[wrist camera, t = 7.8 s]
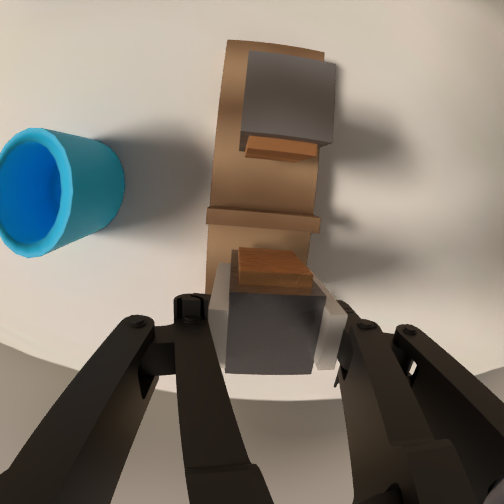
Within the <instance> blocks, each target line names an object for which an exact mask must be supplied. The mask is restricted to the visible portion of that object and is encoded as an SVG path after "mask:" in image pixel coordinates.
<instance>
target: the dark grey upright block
mask: <svg viewBox="0 0 504 504" xmlns="http://www.w3.org/2000/svg"><path fill="white" fill-rule="evenodd" d="M326 298H327V296H326V295H325V293H324V292H323V291H322V290H321V289H320V287H319V286H318V285H317V284H316V283H315V281H314V280H313V274H312V273H311V271H310V270H309V269H308V268H307V267H306V266H305V265H304V264H303V262H302V261H301V260H300V259H299V258H298V257H297V256H296V255H295V253H294V252H293V251H290V250H276V249H262V248H247V247H239V249H238V250H234V249H232V252H231V268H230V286H229V311H228V327H227V344H226V363H225V373H231V374H258V375H301V374H311V372H312V368H313V363H314V355H315V351H316V346H317V341H318V336H319V332H320V327H321V322H322V316H323V311H324V306H325V304H326Z"/></svg>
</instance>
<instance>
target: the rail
mask: <svg viewBox="0 0 504 504" xmlns="http://www.w3.org/2000/svg"><path fill="white" fill-rule="evenodd" d="M335 75H336V64H333V63H329V62H324V52H320V51H315V50H310V49H305V48H299V47H293V46H287V45H280V44H272V43H263V42H254V41H241V40H227V47H226V54H225V61H224V69H223V77H222V84H221V93H220V101H219V110H218V119H217V128H216V138H215V149H214V160H213V171H212V183H211V196H210V206H209V207H208V208H207V215H206V224H209V226H208V243H207V263H206V287H205V294H212V290H213V285H214V281H215V276H216V272H217V267H218V263H231V252H232V249H234V250H238V249H239V247H247V248H262V249H276V250H290V251H293V252H294V253H295V255H296V256H297V257H298V258H299V259H300V260H301V261H302V262H303V264H304V265H305V266H307V258H308V251H309V243H310V236H311V232H312V233H319V229H320V221H321V218H319V217H317V216H315V215H313V211H314V202H315V192H316V182H317V172H318V160H319V148H320V147H322V146H325V145H328V144H330V143H332V139H333V123H334V104H335Z"/></svg>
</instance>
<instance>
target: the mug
mask: <svg viewBox="0 0 504 504" xmlns="http://www.w3.org/2000/svg"><path fill="white" fill-rule="evenodd" d="M124 189H125V181H124V171H123V168H122V166H121V163H120V161H119V158H118V156H117V155H116V154H115V153H114V152H113V151H112V149H111V148H110V147H109V146H107V145H105V144H103V143H101V142H99V141H96V140H92V139H88V138H84V137H80V136H75V135H71V134H67V133H62V132H57V131H53V130H48V129H43V128H28V129H26V130H24V131H22V132H19V133H17V134H16V135H15V136H14V137H13V138H12V139H11V140H10V141H9V142H8V143H7V144H6V145H5V146H4V148H3V149H2V151H1V153H0V237H1V239H2V240H3V242H4V244H5V245H6V246H7V247H9V248H10V249H11V250H12V251H13V252H14V253H16V254H18V255H21V256H24V257H27V258H32V257H39V256H43V255H45V254H47V253H49V252H51V251H53V250H56V249H58V248H60V247H62V246H65V245H67V244H69V243H71V242H74V241H76V240H78V239H81V238H83V237H85V236H88V235H90V234H92V233H95V232H97V231H99V230H100V229H102V228H104V227H106V226H107V225H108V224H109V223H110V222H111V221H112V219H113V218H114V217H115V216H116V214H117V212H118V210H119V208H120V206H121V204H122V201H123V195H124Z"/></svg>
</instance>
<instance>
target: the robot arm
mask: <svg viewBox="0 0 504 504" xmlns="http://www.w3.org/2000/svg"><path fill="white" fill-rule="evenodd" d="M230 268H231V263H218V267H217V272H216V276H215V281H214V285H213V290H212V294H199V293H193V294H182V295H178V296H177V297H175V298H174V324H171V325H167V326H155V325H154V321H153V319H151V318H150V317H147V316H143V315H131V316H129V317H126V318H124V319H123V320H122V321H121V322H120V323H119V324H118V325H117V327H116V328H115V329H114V330H113V331H112V332H111V334H110V335H109V336H108V337H107V338H106V340H105V341H104V342H103V343H102V344H101V346H100V347H99V348H98V349H97V350H96V352H95V353H94V354H93V355H92V357H91V358H90V359H89V360H88V361H87V363H86V364H85V365H84V366H83V368H82V369H81V370H80V371H79V373H78V374H77V375H76V376H75V378H74V379H73V380H72V381H71V383H70V384H69V385H68V387H67V388H66V389H65V390H64V392H63V393H62V394H61V396H60V397H59V398H58V400H57V401H56V402H55V404H54V405H53V406H52V408H51V409H50V410H49V412H48V413H47V414H46V416H45V417H44V418H43V420H42V421H41V423H40V424H39V425H38V427H37V428H36V429H35V431H34V432H33V434H32V435H31V436H30V438H29V439H28V441H27V442H26V444H25V445H24V446H23V448H22V449H21V451H20V452H19V454H18V455H17V457H16V458H15V460H14V461H13V463H12V464H11V466H10V467H9V469H7V470H6V471H5V472H3V473H2V474H0V504H110V503H111V500H112V497H113V494H114V492H115V489H116V486H117V483H118V481H119V478H120V475H121V472H122V470H123V467H124V464H125V462H126V459H127V457H128V454H129V451H130V449H131V446H132V444H133V441H134V439H135V436H136V433H137V431H138V428H139V426H140V423H141V421H142V418H143V416H144V413H145V411H146V408H147V406H148V404H149V401H150V399H151V396H152V394H153V392H154V389H155V387H156V384H157V382H158V380H159V376H160V375H172V374H176V386H177V399H178V413H179V424H180V434H181V443H182V452H183V460H184V467H185V477H186V483H187V490H188V496H189V501H190V504H274V503H273V500H272V498H271V495H270V493H269V490H268V488H267V485H266V483H265V480H264V477H263V475H262V473H261V471H260V469H259V467H258V466H257V465H256V464H252V463H251V462H250V460H249V458H248V455H247V452H246V449H245V446H244V443H243V440H242V437H241V434H240V431H239V428H238V425H237V422H236V419H235V415H234V412H233V409H232V406H231V402H230V399H229V396H228V392H227V389H226V385H225V382H224V378H223V375H222V371H221V368H225V363H226V344H227V327H228V311H229V286H230ZM309 270H310V269H309ZM310 271H311V270H310ZM311 273H312V274H313V280H314V281H315V283H316V284H317V285H318V286H319V287H320V289H321V290H322V291H323V292H324V293H325V295H326V296H327V298H326V304H325V306H324V311H323V316H322V322H321V327H320V332H319V336H318V341H317V346H316V351H315V355H314V362H315V364H316V366H317V369H318V370H332V369H334V368H335V364H336V361H337V359H338V361H339V362H340V367H339V370H338V373H337V377H336V380H335V383H334V387H336V386H337V384H338V383H339V384H340V390H341V396H342V401H343V408H344V415H345V421H346V428H347V435H348V443H349V451H350V459H351V467H352V476H353V487H354V500H353V503H352V504H504V403H503V402H502V401H501V400H500V399H499V398H498V397H497V396H496V395H494V394H493V393H492V392H491V391H490V390H489V389H488V388H487V387H486V386H485V385H484V384H483V383H481V382H480V381H479V380H478V379H477V378H476V377H475V376H474V375H473V374H471V373H470V372H469V371H468V370H467V369H466V368H465V367H464V366H462V365H461V364H460V363H459V362H458V361H457V360H455V359H454V358H453V357H452V356H451V355H450V354H449V353H447V352H446V351H445V350H444V349H443V348H442V347H440V346H439V345H438V344H437V343H436V342H434V341H433V340H432V339H431V338H430V337H428V336H427V335H426V334H425V333H424V332H422V331H421V330H420V329H418V328H417V327H414V326H413V325H409V324H406V325H405V324H402V325H398V326H397V327H396V330H395V334H390V333H383V332H382V330H381V328H380V327H379V325H378V324H376V323H375V322H373V321H370V320H366V319H361V318H360V317H359V316H358V315H357V314H356V313H355V312H354V310H353V309H352V308H351V307H350V306H349V305H348V304H347V303H345V302H343V301H341V300H335V299H334V297H333V296H332V295H331V294H330V292H329V291H328V290H327V289H326V288H325V286H324V285H323V284H322V283H321V282H320V280H319V279H318V278H317V277H316V276H315V274H314V273H313V272H312V271H311ZM413 361H414V362H415V363H416V364H417V367H416V369H415V371H414V374H413V375H411V374H410V373H409V371H410V369H411V366H412V364H413Z"/></svg>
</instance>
